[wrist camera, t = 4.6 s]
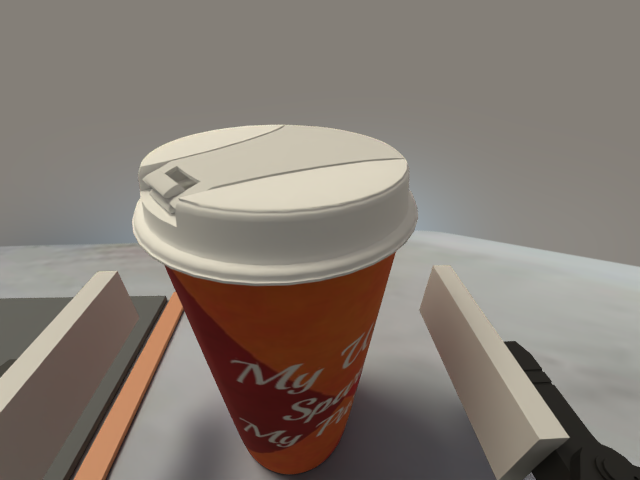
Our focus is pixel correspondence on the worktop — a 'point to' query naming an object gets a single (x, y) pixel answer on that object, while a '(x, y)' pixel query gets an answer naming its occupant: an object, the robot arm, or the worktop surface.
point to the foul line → (130, 397)
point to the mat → (31, 320)
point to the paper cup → (279, 269)
